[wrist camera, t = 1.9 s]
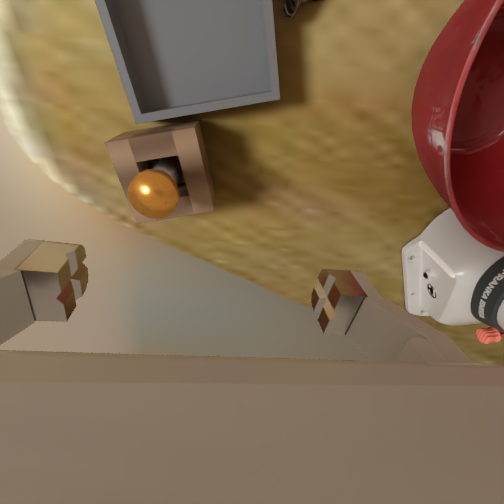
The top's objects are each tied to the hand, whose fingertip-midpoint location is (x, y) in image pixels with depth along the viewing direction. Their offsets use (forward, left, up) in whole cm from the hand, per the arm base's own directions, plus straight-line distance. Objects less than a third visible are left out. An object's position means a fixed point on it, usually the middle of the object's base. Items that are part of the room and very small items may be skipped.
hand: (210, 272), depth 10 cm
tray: (+11, +1, -28) cm, 30 cm away
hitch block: (-2, +7, -28) cm, 29 cm away
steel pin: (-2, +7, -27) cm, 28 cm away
